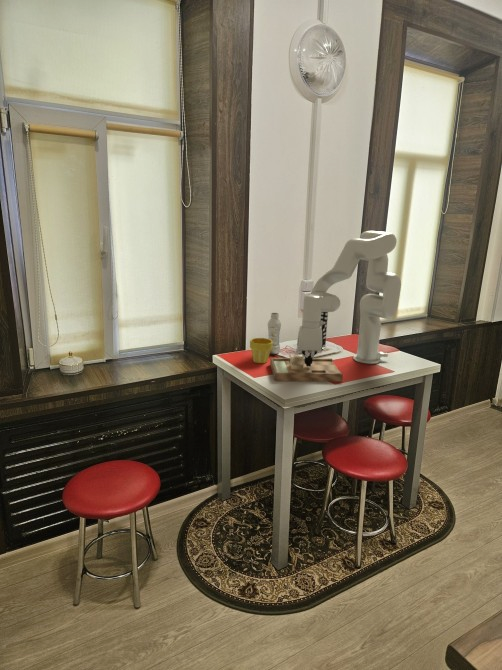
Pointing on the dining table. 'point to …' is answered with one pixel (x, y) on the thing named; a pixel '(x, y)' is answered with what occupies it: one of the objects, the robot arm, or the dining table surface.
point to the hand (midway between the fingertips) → (308, 365)
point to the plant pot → (260, 349)
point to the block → (296, 362)
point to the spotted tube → (324, 327)
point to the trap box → (305, 370)
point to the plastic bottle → (274, 332)
